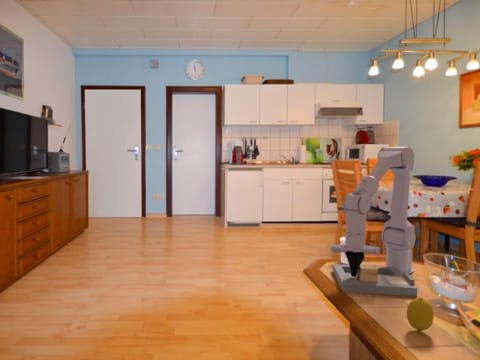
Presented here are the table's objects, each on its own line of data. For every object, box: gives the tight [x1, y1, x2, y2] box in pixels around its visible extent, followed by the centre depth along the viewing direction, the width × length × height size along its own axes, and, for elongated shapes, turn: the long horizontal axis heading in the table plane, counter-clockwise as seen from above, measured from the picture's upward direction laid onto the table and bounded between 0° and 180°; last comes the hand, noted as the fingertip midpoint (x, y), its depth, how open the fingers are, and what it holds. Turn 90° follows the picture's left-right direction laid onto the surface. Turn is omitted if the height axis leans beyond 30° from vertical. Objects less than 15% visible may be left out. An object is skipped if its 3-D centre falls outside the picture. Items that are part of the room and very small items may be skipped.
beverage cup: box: [339, 236, 349, 265], centre depth 138 cm, size 6×6×14 cm
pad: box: [385, 276, 411, 285], centre depth 111 cm, size 7×6×1 cm
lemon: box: [406, 296, 434, 333], centre depth 84 cm, size 6×6×8 cm
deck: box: [332, 263, 418, 297], centre depth 116 cm, size 20×21×4 cm
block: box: [357, 262, 378, 282], centre depth 112 cm, size 5×5×4 cm
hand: (353, 275), depth 113 cm, fingers closed
